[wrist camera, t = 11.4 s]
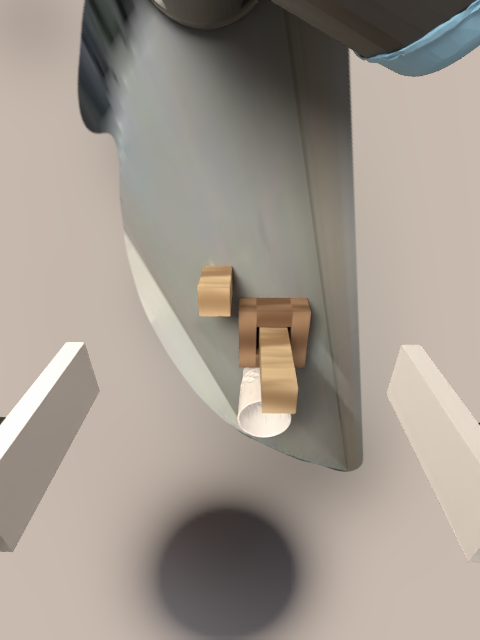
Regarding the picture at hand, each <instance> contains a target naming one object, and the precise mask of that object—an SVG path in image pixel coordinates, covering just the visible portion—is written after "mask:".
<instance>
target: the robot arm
mask: <svg viewBox="0 0 480 640" xmlns="http://www.w3.org/2000/svg"><path fill="white" fill-rule="evenodd" d="M151 1H152V3H153V4H154V5H155V6H156V7H157V8H158V9H159V10H161V11H162V12H163V13H164V14H165V15H167V16H168V17H169V18H171V19H172V20H174V21H176V22H178V23H180V24H182V25H184V26H188V27H191V28H195V29H204V30H208V29H217V28H221V27H225V26H227V25H230V24H232V23H234V22H236V21H237V20H239V19H241V18H242V17H243V16H245V15H246V14H247V13H248V12H249V11H250V10H251V9H252V8H253V7H254V6H255V5H256V4H257V3H258V2H259V0H151ZM270 1H272V2H273V3H275V4H277V5H278V6H280V7H282V8H283V9H285V10H287V11H288V12H290V13H292V14H293V15H295V16H297V17H298V18H300V19H302V20H303V21H305V22H307V23H308V24H310V25H312V26H313V27H315V28H317V29H318V30H320V31H322V32H323V33H325V34H327V35H328V36H330V37H332V38H333V39H335V40H337V41H338V42H340V43H342V44H343V45H345V46H347V47H348V48H350V49H352V50H353V51H354V52H355V54H356V55H357V56H358V57H359V58H361V59H362V60H367V61H368V62H372V63H379V64H381V65H383V66H385V67H387V68H388V69H390V70H393V71H394V72H396V73H398V74H401V75H405V76H413V77H415V76H423V75H427V74H430V73H433V72H436V71H439V70H441V69H443V68H445V67H447V66H449V65H451V64H452V63H454V62H455V61H457V60H459V59H461V58H462V57H464V56H465V55H466V54H468V53H470V52H471V51H472V50H474V49H475V48H476V47H478V46H479V45H480V0H270ZM98 393H99V387H98V384H97V381H96V378H95V375H94V371H93V368H92V365H91V362H90V359H89V355H88V352H87V349H86V346H85V343H82V342H80V343H78V342H66V344H65V345H64V346H63V347H62V348H61V350H60V351H59V352H58V354H57V355H56V356H55V357H54V359H53V360H52V361H51V362H50V364H49V365H48V366H47V367H46V369H45V370H44V371H43V372H42V374H41V375H40V376H39V377H38V379H37V380H36V381H35V382H34V384H33V385H32V386H31V387H30V389H29V390H28V391H27V392H26V394H25V395H24V396H23V397H22V399H21V400H20V401H19V402H18V404H17V405H16V406H15V407H14V409H13V410H12V411H11V412H10V414H9V415H8V416H7V417H0V551H1V552H13V551H14V549H15V547H16V545H17V543H18V541H19V540H20V538H21V536H22V534H23V532H24V530H25V529H26V527H27V525H28V523H29V521H30V519H31V517H32V515H33V514H34V512H35V510H36V508H37V506H38V504H39V502H40V501H41V499H42V497H43V495H44V493H45V491H46V490H47V488H48V486H49V484H50V482H51V480H52V478H53V477H54V475H55V473H56V471H57V469H58V467H59V465H60V464H61V462H62V460H63V458H64V456H65V454H66V452H67V451H68V449H69V447H70V445H71V443H72V441H73V439H74V438H75V435H76V434H77V432H78V430H79V428H80V426H81V425H82V423H83V421H84V419H85V417H86V415H87V414H88V412H89V410H90V408H91V406H92V404H93V402H94V400H95V399H96V397H97V395H98ZM386 394H387V397H388V399H389V401H390V403H391V405H392V407H393V409H394V411H395V413H396V415H397V417H398V419H399V421H400V423H401V425H402V427H403V429H404V431H405V433H406V436H407V438H408V439H409V441H410V444H411V445H412V448H413V450H414V452H415V454H416V456H417V458H418V460H419V462H420V464H421V466H422V468H423V470H424V472H425V474H426V476H427V478H428V481H429V483H430V485H431V486H432V489H433V491H434V493H435V495H436V497H437V499H438V501H439V503H440V505H441V507H442V509H443V511H444V513H445V515H446V517H447V519H448V521H449V523H450V525H451V527H452V530H453V532H454V534H455V535H456V538H457V540H458V542H459V544H460V546H461V548H462V550H463V552H464V554H465V556H466V558H467V560H468V562H480V423H478V422H477V421H476V420H475V418H474V417H473V415H472V414H471V413H470V411H469V410H468V409H467V408H466V406H465V405H464V403H463V402H462V401H461V399H460V398H459V397H458V395H457V394H456V393H455V391H454V390H453V389H452V387H451V386H450V384H449V383H448V382H447V380H446V379H445V378H444V376H443V375H442V374H441V372H440V371H439V370H438V368H437V367H436V366H435V364H434V363H433V361H432V360H431V359H430V357H429V356H428V355H427V353H426V352H425V351H424V349H423V348H422V347H421V345H401V348H400V352H399V355H398V358H397V361H396V364H395V368H394V371H393V374H392V377H391V381H390V384H389V387H388V390H387V393H386Z"/></svg>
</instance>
